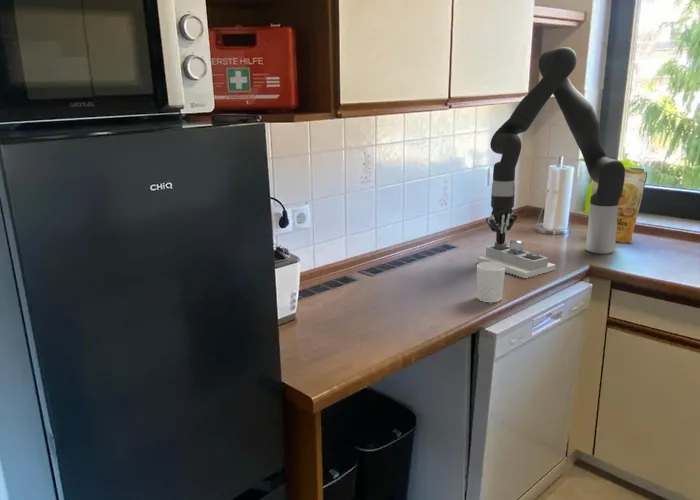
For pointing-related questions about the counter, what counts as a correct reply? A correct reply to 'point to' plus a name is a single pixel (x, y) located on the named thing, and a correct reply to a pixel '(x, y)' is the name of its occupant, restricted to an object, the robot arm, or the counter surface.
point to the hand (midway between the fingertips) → (500, 243)
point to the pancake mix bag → (628, 202)
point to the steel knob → (516, 246)
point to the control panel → (517, 262)
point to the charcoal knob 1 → (500, 246)
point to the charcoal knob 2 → (532, 256)
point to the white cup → (490, 281)
